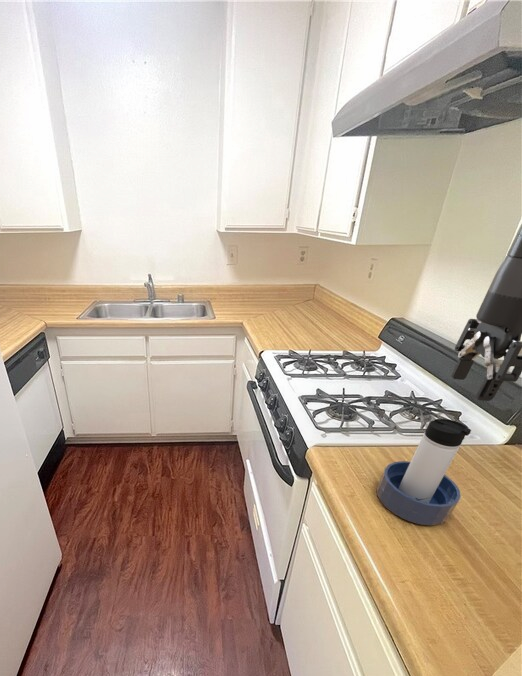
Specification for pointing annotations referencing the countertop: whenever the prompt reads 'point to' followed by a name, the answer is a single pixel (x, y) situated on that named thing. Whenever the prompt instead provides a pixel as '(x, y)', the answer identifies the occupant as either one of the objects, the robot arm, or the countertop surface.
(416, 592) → the countertop surface
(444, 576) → the countertop surface
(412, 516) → the bowl
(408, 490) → the travel mug
